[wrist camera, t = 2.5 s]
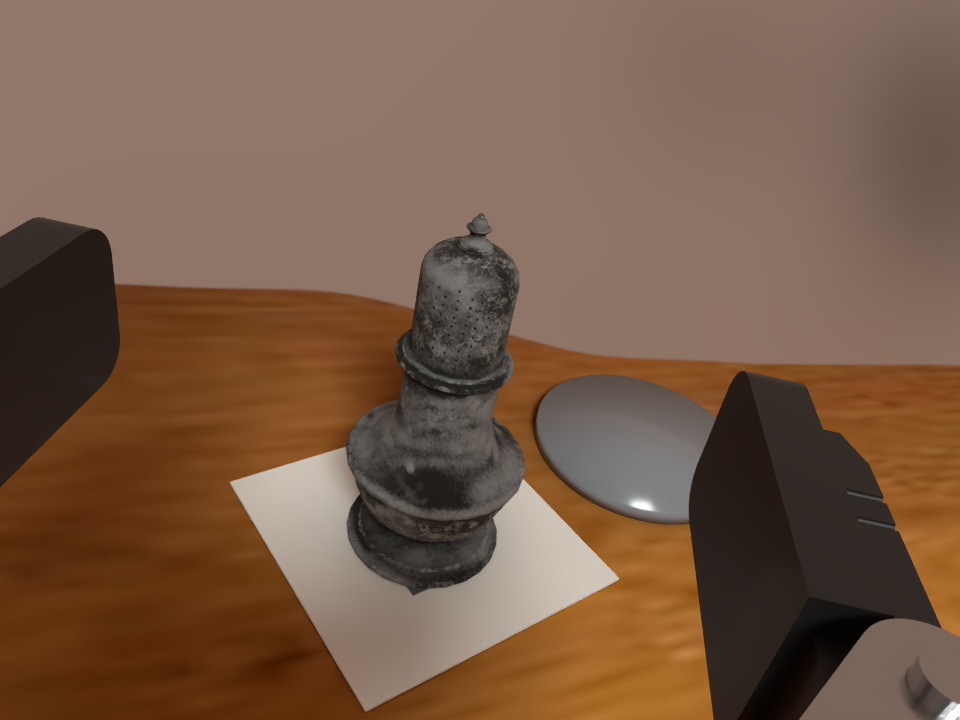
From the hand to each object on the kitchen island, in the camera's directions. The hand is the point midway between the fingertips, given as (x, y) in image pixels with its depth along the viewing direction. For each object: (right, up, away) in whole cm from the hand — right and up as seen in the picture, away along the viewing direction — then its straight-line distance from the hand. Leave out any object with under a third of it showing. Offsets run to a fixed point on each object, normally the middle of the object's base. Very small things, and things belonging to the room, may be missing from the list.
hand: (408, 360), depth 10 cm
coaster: (+8, -4, +24) cm, 25 cm away
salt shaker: (-1, -6, +18) cm, 19 cm away
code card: (-1, -6, +18) cm, 19 cm away
